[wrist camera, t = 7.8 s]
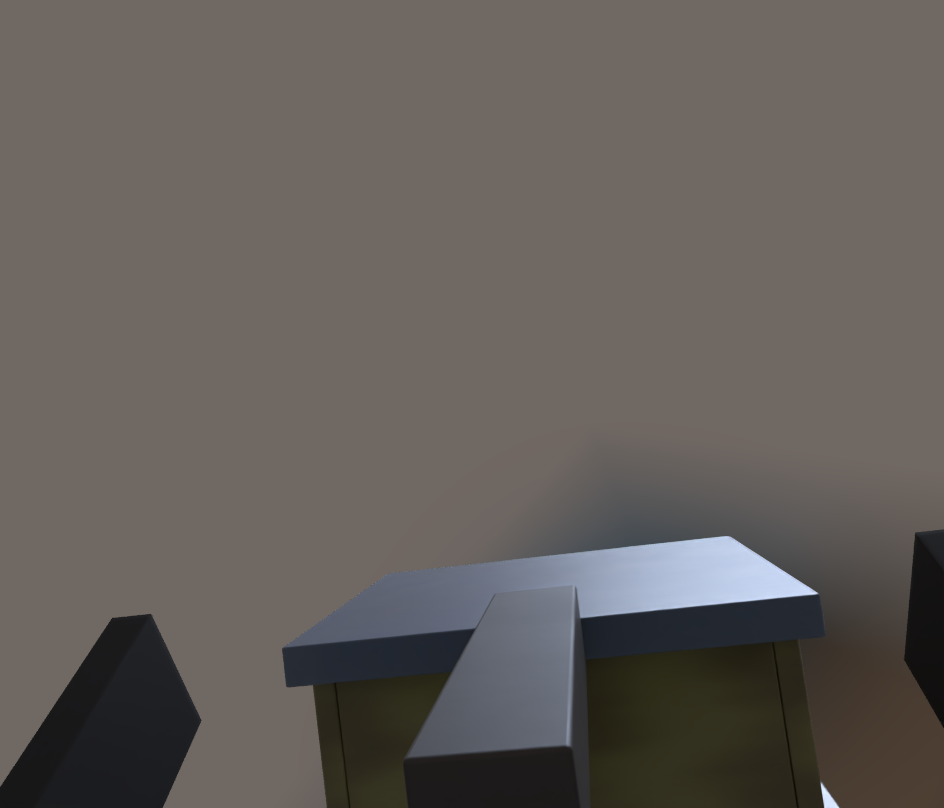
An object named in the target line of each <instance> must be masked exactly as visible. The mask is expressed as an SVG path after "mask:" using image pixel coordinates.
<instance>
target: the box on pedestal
mask: <svg viewBox="0 0 944 808" xmlns="http://www.w3.org/2000/svg"><path fill="white" fill-rule="evenodd" d="M450 674H451V672H448V673H437V674H426V675H416V676H405V677H394V678H383V679H373V680H362V681H351V682H341V683H330V684H319V685H313V689H314V698H315V707H316V716H317V725H318V733H319V742H320V751H321V760H322V769H323V777H324V786H325V795H326V804H327V808H408V804H407V796H406V788H405V779H404V771H403V761H404V758H405V756H406V754H407V752H408V751H409V749H410V747H411V745H412V743H413V741H414V740H415V738H416V736H417V734H418V732H419V731H420V729H421V727H422V725H423V723H424V721H425V720H426V718H427V716H428V714H429V712H430V710H431V709H432V707H433V705H434V703H435V701H436V700H437V698H438V696H439V694H440V692H441V690H442V689H443V687H444V685H445V683H446V681H447V679H448V678H449V676H450ZM586 678H587V711H588V744H589V777H590V808H840V806H839V805H838V803H837V802H836V801H835V799H834V798H833V796H832V795H831V794H830V792H829V791H828V789H827V788H826V786H825V785H824V784H823V782H822V781H821V780H820V776H819V768H818V762H817V756H816V749H815V742H814V735H813V730H812V722H811V716H810V709H809V703H808V696H807V690H806V683H805V677H804V670H803V664H802V657H801V650H800V644H799V640H790V641H779V642H769V643H758V644H747V645H737V646H726V647H715V648H704V649H694V650H683V651H672V652H662V653H651V654H640V655H630V656H619V657H608V658H597V659H587V660H586Z"/></svg>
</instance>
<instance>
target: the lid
mask: <svg viewBox="0 0 944 808" xmlns="http://www.w3.org/2000/svg"><path fill="white" fill-rule="evenodd" d="M825 636H826V631H825V624H824V617H823V611H822V605H821V598H820V595H819V594H818V593H817V592H815V591H814V590H812V589H811V588H809V587H807V586H806V585H804V584H803V583H801V582H800V581H798V580H797V579H795V578H793V577H792V576H790V575H789V574H787V573H786V572H784V571H783V570H781V569H780V568H778V567H776V566H775V565H773V564H772V563H770V562H769V561H767V560H765V559H764V558H762V557H761V556H759V555H758V554H756V553H755V552H753V551H752V550H750V549H748V548H747V547H745V546H744V545H742V544H740V543H739V542H738V541H736V540H735V539H733V538H731V537H730V536H723V537H714V538H705V539H696V540H687V541H678V542H669V543H661V544H651V545H642V546H633V547H624V548H615V549H606V550H597V551H588V552H579V553H570V554H561V555H552V556H543V557H534V558H525V559H516V560H507V561H498V562H490V563H480V564H471V565H463V566H453V567H445V568H436V569H426V570H417V571H408V572H399V573H390V574H387V575H386V576H384V577H383V578H382V579H380V580H379V581H377V582H376V583H374V584H373V585H371V586H370V587H369V588H367V589H366V590H364V591H363V592H362V593H360V594H359V595H357V596H356V597H354V598H353V599H351V600H350V601H349V602H347V603H346V604H344V605H343V606H342V607H340V608H339V609H337V610H336V611H334V612H333V613H332V614H330V615H329V616H327V617H326V618H324V619H323V620H322V621H320V622H319V623H317V624H316V625H315V626H313V627H312V628H310V629H309V630H307V631H306V632H305V633H303V634H302V635H300V636H299V637H298V638H296V639H295V640H293V641H292V642H290V643H289V644H287V645H286V646H285V647H283V648H282V652H283V661H284V670H285V679H286V686H287V687H296V686H308V685H319V684H330V683H341V682H351V681H362V680H373V679H383V678H394V677H405V676H416V675H426V674H437V673H448V672H451V674H450V676H449V678H448V679H447V681H446V683H445V685H444V687H443V689H442V690H441V692H440V694H439V696H438V698H437V700H436V701H435V703H434V705H433V707H432V709H431V710H430V712H429V714H428V716H427V718H426V720H425V721H424V723H423V725H422V727H421V729H420V731H419V732H418V734H417V736H416V738H415V740H414V741H413V743H412V745H411V747H410V749H409V751H408V752H407V754H406V756H405V758H404V761H403V771H404V779H405V788H406V796H407V804H408V808H590V777H589V744H588V711H587V678H586V660H587V659H597V658H608V657H619V656H630V655H640V654H651V653H662V652H672V651H683V650H694V649H704V648H715V647H726V646H737V645H747V644H758V643H769V642H779V641H790V640H801V639H811V638H822V637H825Z"/></svg>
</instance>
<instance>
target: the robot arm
mask: <svg viewBox="0 0 944 808" xmlns="http://www.w3.org/2000/svg"><path fill="white" fill-rule="evenodd" d="M904 660H905V662H906V664H907V665H908V667H909V669H910V670H911V672H912V674H913V676H914V677H915V679H916V680H917V683H918V684H919V686H920V688H921V689H922V691H923V693H924V695H925V696H926V698H927V700H928V702H929V703H930V705H931V707H932V708H933V710H934V712H935V714H936V715H937V717H938V719H939V721H940V722H941V724H942V726H943V728H944V530H935V531H927V532H917V533H915V542H914V554H913V566H912V578H911V589H910V600H909V611H908V623H907V635H906V646H905V658H904ZM200 723H201V719H200V716H199V714H198V712H197V710H196V708H195V706H194V704H193V702H192V700H191V697H190V696H189V693H188V691H187V689H186V687H185V685H184V683H183V680H182V678H181V676H180V674H179V672H178V670H177V668H176V666H175V664H174V662H173V660H172V657H171V655H170V653H169V651H168V649H167V647H166V645H165V642H164V640H163V638H162V636H161V634H160V632H159V630H158V628H157V626H156V624H155V621H154V619H153V617H152V615H151V614H147V615H137V616H128V617H118V618H112V619H111V621H110V622H109V624H108V625H107V627H106V628H105V630H104V631H103V633H102V634H101V636H100V637H99V639H98V640H97V642H96V643H95V645H94V646H93V648H92V649H91V651H90V652H89V654H88V656H87V657H86V658H85V660H84V661H83V663H82V664H81V666H80V667H79V669H78V671H77V672H76V674H75V675H74V677H73V678H72V680H71V681H70V682H69V684H68V685H67V687H66V689H65V690H64V692H63V693H62V695H61V696H60V698H59V699H58V701H57V702H56V704H55V705H54V707H53V708H52V710H51V711H50V713H49V714H48V716H47V717H46V719H45V720H44V722H43V723H42V725H41V726H40V728H39V729H38V731H37V732H36V734H35V735H34V737H33V738H32V740H31V741H30V743H29V744H28V746H27V747H26V749H25V751H24V752H23V753H22V755H21V756H20V758H19V760H18V761H17V763H16V764H15V766H14V767H13V769H12V770H11V772H10V773H9V775H8V776H7V778H6V779H5V781H4V782H3V784H2V785H1V787H0V808H163V806H164V803H165V801H166V799H167V797H168V795H169V792H170V790H171V788H172V786H173V783H174V781H175V778H176V776H177V774H178V772H179V770H180V767H181V765H182V763H183V761H184V758H185V756H186V754H187V752H188V749H189V747H190V745H191V743H192V740H193V738H194V736H195V734H196V732H197V729H198V727H199V725H200Z"/></svg>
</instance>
